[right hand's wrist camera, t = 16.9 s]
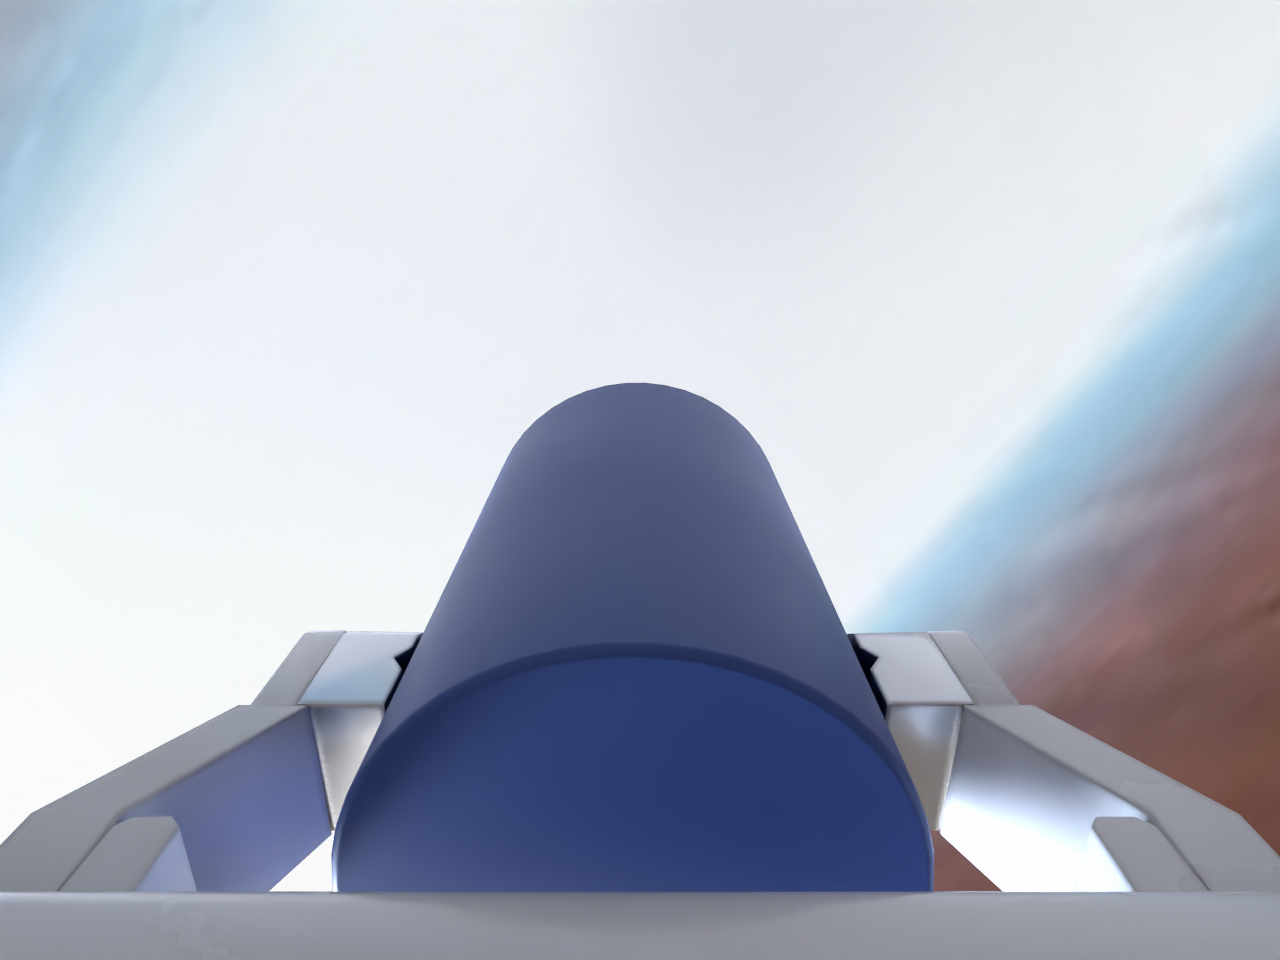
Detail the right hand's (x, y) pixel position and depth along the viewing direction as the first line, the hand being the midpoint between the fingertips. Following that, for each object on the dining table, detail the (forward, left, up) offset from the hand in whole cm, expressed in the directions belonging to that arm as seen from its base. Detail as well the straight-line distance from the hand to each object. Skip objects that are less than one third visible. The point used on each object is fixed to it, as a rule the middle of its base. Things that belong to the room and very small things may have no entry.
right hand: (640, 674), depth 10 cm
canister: (0, 0, -5) cm, 5 cm away
